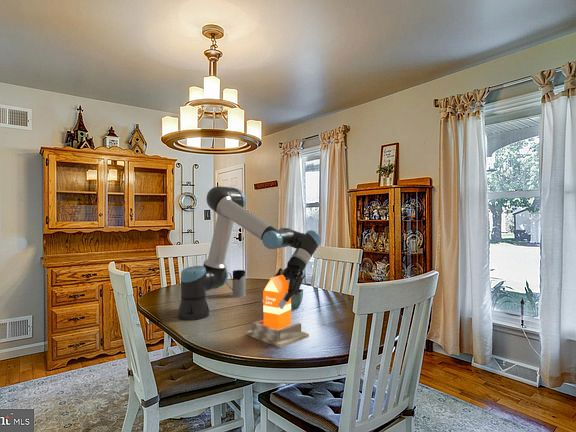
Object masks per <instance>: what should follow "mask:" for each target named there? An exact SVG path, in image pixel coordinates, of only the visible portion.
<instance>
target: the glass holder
mask: <svg viewBox="0 0 576 432" xmlns="http://www.w3.org/2000/svg"><path fill="white" fill-rule="evenodd" d="M227 272H228V271H227ZM228 275H229V276H230V280H232V287H231V285H229V283H228V280H227V281H226V283H225V284H226V285H227V287H228V288H230V289H231V291H232V294H231V297H232V298H245V297H246V296H247V294H246V290H247V289H246V282H247V281H246V270H243V269H236V270H233V271H232V273H231V272H228Z"/></svg>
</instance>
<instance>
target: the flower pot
mask: <svg viewBox="0 0 576 432" xmlns="http://www.w3.org/2000/svg"><path fill="white" fill-rule="evenodd" d="M303 295H304V289H300V288H299V291H298V294H297V295H295V294H294V295H292V296H291V309H295V310H296V309H299V308H300V306H301V305H302V301H303Z"/></svg>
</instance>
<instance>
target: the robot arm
mask: <svg viewBox="0 0 576 432" xmlns="http://www.w3.org/2000/svg"><path fill="white" fill-rule="evenodd" d="M205 198H206V199H205V200H206V204H207V205H208V207H209V208H210V209H211V210H212V211H213V212H215V213H216V214H217V218H216V221H215V222H216V223H215V226H214V230H213V235H212V240H211V243H210V249H209V252H208V257H207V258H206V259H205V260H204V261H203V265H193V266H188V267H185V268H184V269H182V271H181V273H180V303H179V306H178V309H177V312H176V313H177V314H176V316H177V318H178V319H179V320H186V321H188V320H189V321H193V320H194V321H195V320H201V319H204V318H207V317H208V316H210V309H209V305H208V302H207V300H206V299H207V297H206V294H207V293H206V292H207V291H210V290H215V289H218V288H220V287H222V286H224V285H225V284H227V283H226V281H227V282H228V279H229V273H228V269H227V264H226V263H225V260H226V255H227V252H228V248H229V242H230V239H231V235H232V230H233V228H234V227H233V226H234V223H235V224H237V225H238V226H240V227H241V228H243V229H244V230H246V231H247V232H249V233H250V234H252V235H253V236H254V237H257V239H259V240H261V241H262V244H263V246H264V247H265V248H266V249H269V250H277V249H280V248H286V247H291V248H294V249H295V250H294V251H293V253H292V255H291V256H290V258H289V260H288V262H287V265H286V268H284V269H282V268H281V267H279V268H278V271H277V272H276V274H275V275H274V276H273V277H275V276H279V275H284V277H285V279H286V281H287V282H288V281H289V283H288V285H289V287H288V290H287V291H288V292H285V294H284V295H283V297H282V299H281V300H280V302H279V304H278V306H279V307H280V309H283V308H284V306H285V304H286V303H287V302H288V301H289V299H290V298H291V296H292V295H294V294H295V295H297V294H298V291H299V289H300V288H301V286H302V284H303V280H304V279H305V277H306V274H305V273H304V271H305V269H306V266H307V265H308V263H309V262H310V260H311V259H312V257H313V255H314V254H315V252H316V251H317V248H319V245H320V243H321V241H322V237H321V235H320V233H318V232H316V231H315V230H313V229H311V230H310V229H309V230H307V231H306V233H304V232H300V231H297V230H294V229H292V228H289V227H285V226H284V227H280V228H278V229H276V228H275V227H273V226H272V225H270V224H269V223H268V222H266V221H264V220H263V219H261V218H260V217H258V216H256V215H255V214H253V213H252V212H250V211H249V210H247V209H245V206H246V202H247V199H246V196H245V194H244V191H242V190H241V189H239V188H236V187H232V186H219V185H218V186H214V187H212V188H211V189H209V190H208V192H207V194H206V197H205ZM261 302H262V303H263V299H261Z"/></svg>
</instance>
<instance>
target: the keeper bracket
mask: <svg viewBox="0 0 576 432" xmlns="http://www.w3.org/2000/svg"><path fill="white" fill-rule="evenodd" d="M245 334H246V336H249V337H251V338H253V339H256V340H259V341H261V342H264V343H267V344H270V345H272V346H274V347H277V348H280V349H281V348H284V347H286V346H288V345H291V344H294V343H297V342H300V341H302V340H304V339H307V338H309V336H310V333H308V332H304V331H302V323H300V322H297V323H293V324H290V325H288V326H286V327H284V328H281V329H278V330H277V329H274V328H271V327H268V326H265V325H264V319H261V320H258V321H257V320H256V321H253V322H251V330H248V331H246V333H245Z"/></svg>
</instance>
